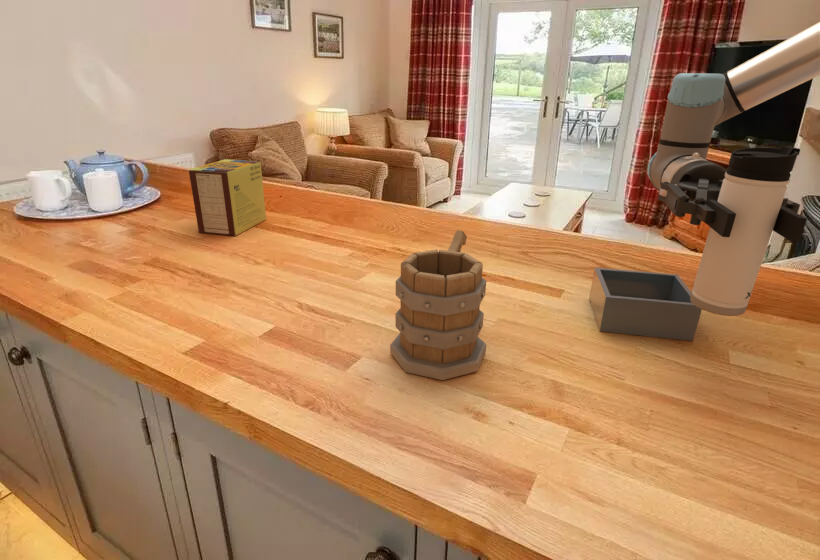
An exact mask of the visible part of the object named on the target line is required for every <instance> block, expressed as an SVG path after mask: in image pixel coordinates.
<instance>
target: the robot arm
mask: <svg viewBox="0 0 820 560" xmlns="http://www.w3.org/2000/svg"><path fill="white" fill-rule="evenodd" d="M818 76H820V21H819V22H816V23H815V24H813V25H811V26H809V27H808V28H806V29H804V30H802V31H800V32H798V33H796V34H795V35H793V36H791V37H789V38H787V39H785V40H783V41H782V42H780V43H778V44H776V45H774V46H772V47H770V48H769V49H767V50H765V51H763V52H761V53H759V54H758V55H756V56H754V57H752V58H750V59H747V60H746V61H745V62H743V63H741V64H739V65H737V66H736V67H734V68H731V69H730V70H727V71H726V72H724V73H703V72H701V73H697V72H688V73H687V72H681V73H677V74H676V75H674V77H673V79H672V82H671V86H670V89H669V92H668V94H667V103H666V108H665V113H664V118H663V122H662V128H661V133H660V138H659V142H658V145H657V150H656V152H655V153H654V154H653V155H652V156H651V158H650V159H649V160H648V161H649V162H648V164H647V169H646V170H647V175H648V179H649V181H650V182H651V184H652V186H653V187H654V188H655V189H656V190H658V196H657V201H660V202H662V203H664V204H665V205H666V207H667V208H668V209H669V210H670V212H671V213H672V214H673V215H674V216H675V217H677V218H685V216H686V214H687V215H690V220H689V224H690V225H693V226H701V223H702V222H703V223H704V224H706V225H707V226H708V227H709V228H710V227H711V228H712V229H713V230H714V231H716V232H717V233H718V234H719V235H721V236H722V237H730V234H731V231H732V227H733V224H734V220H735V217H736V213H734V212H733V211H731V210H729V209H728V208H726V207H725V206H723V205H722V204H720V203H719V202H717V201H718V197H719V194H720V190H721V186H722V183H723V180H724V179H725V172H726V171H727V169H726V168H724V167H723V166H722V165H719V164H717V163H715V162H712V161H710V160H707V157H708V153H709V148H710V145H711V140H712V138H713V133H714V129H715V126H719V125H720V124H721V123H723V122H725V121H728V120H729V119H731V118H734V117H735V116H737V115H739V114H742V113H743V112H746V111H748V110H749V109H751V108H754V107H756V106H758V105H760V104H762V103H764V102H767V101H768V100H771V99H773V98H775V97H777V96H779V95H781V94H783V93H785V92H787V91H789V90H791V89H794V88H796V87H798V86H799V85H802V84H804V83H807V82H809V81H811V80H813V79H814V78H816V77H818ZM800 207H801V204H800V203H798V202H795V201H793V200H790V199H789V197H784V199H783V202H782V204H781V207H780V210H779V213H778V216H777V219H776V222H775V225H774V228H773V231H772V232H774V233H776V234H777V235H780V236H781V237H783V238H784V239H786V240H787V241H789V242H791V243H800V241H801V238H802V235H803V232H804V229H805V226H806V224H807V220H808V218H807V217H805V216H803V215H801V214H799V211H800Z"/></svg>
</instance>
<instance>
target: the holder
mask: <svg viewBox="0 0 820 560" xmlns="http://www.w3.org/2000/svg"><path fill="white" fill-rule="evenodd" d="M691 293H692V289H690V288H689V287H688V285H687V284H686V283H685V281H684V280H683V279H682V277H681V276H680V275H679V274H678V273H665V272H653V271H642V270H629V269H619V268H607V267H594V269H593V274H592V279H591V286H590V292H589V297H588V299H589V302H590V305H591V308H592V312H593V314H594V318H595V322H596V325H597V327H598V331H599V332H602V333H603V332H604V333H611V334H621V335H630V336H631V335H632V336H641V337H649V338H650V337H651V338H660V339H670V340H677V341H687V342H688V341H689V342H694V340H695V336H696V332H697V328H698V325H699V321H700V318H701V314H702V311H703V310H702V309H700V308H698V307H696V306H695V305H694V304H693V303H692V302H691V300H690V296H691Z"/></svg>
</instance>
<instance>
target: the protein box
mask: <svg viewBox="0 0 820 560" xmlns="http://www.w3.org/2000/svg"><path fill="white" fill-rule="evenodd" d="M261 162H262V161H259V160H244V159H241V160H240V159H228V158H227V159H226V158H224V159H221V160H218V161H214V162H211V163H207V164H204V165H200V166H197V167H193V168H190V169H188V175H189V182H190V187H191V193H192V199H193V205H194V212H195V218H196V223H197V230H198V233H200V234H212V235H221V236H222V235H223V236H232V237H236V236H238V235H240V234H242V233H243V232H245V231H247V230H249V229H252V228H253V227H255V226H257V225H259V224H261V223H263V222H264V221H266V220H267V212H266V202H265V192H264V183H263V173H262V172H263V171H262V163H261Z"/></svg>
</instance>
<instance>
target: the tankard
mask: <svg viewBox="0 0 820 560" xmlns="http://www.w3.org/2000/svg"><path fill="white" fill-rule="evenodd" d="M467 238H468V236H467V234H466V233H465V231H463V230H459V229H457V230H456V231H455V232H454V235H453V237H452V240H451V242H450V244H449V246H448V249H447V250H446V249H445V250H444V249H439V250H438V249H430V250H425V251H417V252H412V253H411V254H409V255H408V256H407V257H406V258H405V259H404V260H403V261H402V262H400V276H399V277H398V278H397V279H396V280H395V296H396V297H397V298H398V299H399V300H400V308H399V309H398V310H397V311H396V312H395V328H396V330H398V331H399V333H398V334H397V336H395V338H394V340H393V341H392V342H391V343H390V345H389V346H390V347H389V349H390V350H389V352H390V354H391V356H392V357H393V358H394V359H395V361H396V362H397V364H399V366H400V367H401V368H402V369H403V371H404V372H405V373H407V374H411V375H417V376H422V377H425V378H430V379H436V380H438V381H446V380H449V379H452V378H458V377H461V376H464V375H469V374H473V373H476V372H478V370H479V368H480V366H481V364H482V361H483V359H484V357H485V355H486V352H487V343H486V342H485V341H483V340H482V339H481V338H480V337H479V334H480V333H481V331H482V329H483V327H484V315H485V313H484V311H482V310H480V307H481V303H482V301H483V300H484V298H485V296H486V291H487V280H486V279H485V278H484V277H483V270H484V264H483V262H481V261H480V260H478V259H476V258H475V257H474V256H472V255H470V254H468V253H466V252H461V250H462V247H463V246H465V245H466V244H467Z"/></svg>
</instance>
